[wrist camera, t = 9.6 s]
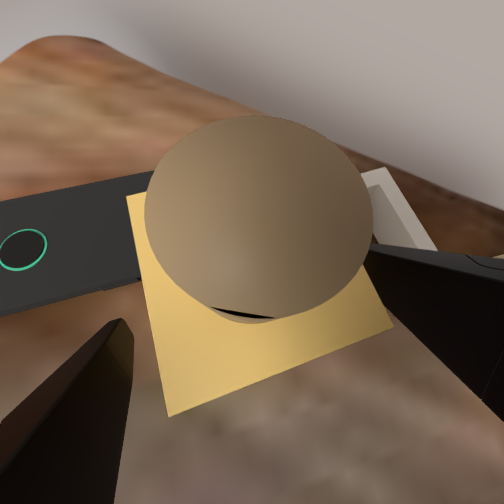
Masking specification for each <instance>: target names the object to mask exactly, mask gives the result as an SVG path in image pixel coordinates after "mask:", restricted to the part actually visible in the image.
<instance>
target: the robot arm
mask: <svg viewBox="0 0 504 504" xmlns="http://www.w3.org/2000/svg"><path fill="white" fill-rule="evenodd" d="M363 266H364V268H365V270H366V272H367V274H368V276H369V278H370V280H371V282H372V284H373V286H374V288H375V290H376V292H377V294H378V296H379V298H380V300H381V302H382V304H383V305H384V306H385V307H386V308H387V309H388V310H389V311H390V312H391V313H392V314H393V315H394V316H395V317H396V318H397V319H398V320H399V321H400V322H402V323H403V324H404V325H405V326H406V327H407V328H408V329H409V330H410V331H411V332H412V333H413V334H414V335H415V336H416V337H417V338H418V339H419V340H420V341H421V342H422V343H423V344H424V345H425V346H426V347H427V348H428V349H429V350H430V351H431V352H432V353H433V354H434V355H435V356H436V357H437V358H439V359H440V360H441V361H442V362H443V363H444V364H445V365H446V366H447V367H448V368H449V369H450V370H451V371H452V372H453V373H454V374H455V375H456V376H457V377H458V378H459V379H460V380H461V381H462V382H463V383H464V384H465V385H466V386H467V387H468V388H469V389H470V390H471V391H472V392H473V393H474V394H475V395H477V396H478V397H479V398H480V399H482V402H483V403H485V404H486V405H487V406H488V407H489V408H490V409H491V410H492V411H493V412H494V413H495V414H496V415H497V416H498V417H499V418H500V419H501V420H502V421H503V422H504V259H501V258H492V257H483V256H475V255H464V254H458V253H450V252H441V251H433V250H425V249H417V248H408V247H400V246H392V245H384V244H376V243H370V247H369V250H368V253H367V255H366V258H365V260H364V262H363ZM133 362H134V336H133V333H132V332H131V330H130V328H129V327H128V325H127V324H126V322H125V321H124V319H122V318H118V319H115V320H112V321H110V322H108V323H107V324H106V325H105V326H104V327H102V328H101V329H100V330H99V331H98V332H97V333H96V334H95V335H94V336H93V337H92V338H91V339H89V340H88V341H87V342H86V343H85V344H84V345H83V346H82V347H81V348H80V349H79V350H78V351H76V352H75V353H74V354H73V355H72V356H71V357H70V358H69V359H68V360H67V361H66V362H65V363H63V364H62V365H61V366H60V367H59V368H58V369H57V370H56V371H55V372H54V373H53V374H52V375H50V376H49V377H48V378H47V379H46V380H45V381H44V382H43V383H42V384H41V385H40V386H39V387H37V388H36V389H35V390H34V391H33V392H32V393H31V394H30V395H29V396H28V397H27V398H26V399H25V400H23V401H22V402H21V403H20V404H19V405H18V406H17V407H16V408H15V409H14V410H13V411H12V412H10V413H9V414H8V415H7V416H6V417H5V418H4V419H3V420H2V421H1V424H0V504H114V498H115V492H116V485H117V479H118V472H119V466H120V459H121V453H122V447H123V440H124V434H125V427H126V421H127V415H128V408H129V402H130V395H131V389H132V381H133Z"/></svg>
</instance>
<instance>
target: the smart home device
mask: <svg viewBox="0 0 504 504" xmlns="http://www.w3.org/2000/svg"><path fill="white" fill-rule="evenodd" d="M153 173H154V171H149V172H144V173H139V174H134V175H129V176H124V177H119V178H114V179H110V180H105V181H100V182H95V183H90V184H85V185H80V186H75V187H70V188H65V189H60V190H55V191H50V192H45V193H40V194H36V195H31V196H26V197H21V198H16V199H11V200H6V201H1V202H0V317H3V316H6V315H10V314H14V313H17V312H21V311H25V310H29V309H32V308H36V307H40V306H44V305H47V304H51V303H55V302H58V301H62V300H66V299H70V298H73V297H77V296H81V295H85V294H88V293H92V292H96V291H99V290H103V291H106V290H109V289H113V288H117V287H120V286H124V285H128V284H132V283H135V282H139V281H140V279H142V277H141V271H140V266H139V261H138V256H137V251H136V245H135V240H134V235H133V230H132V225H131V219H130V214H129V209H128V204H127V199H126V196H130V195H134V194H138V193H142V192H146V191H147V189H148V186H149V183H150V180H151V177H152V175H153Z"/></svg>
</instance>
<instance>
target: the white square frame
mask: <svg viewBox="0 0 504 504" xmlns="http://www.w3.org/2000/svg"><path fill="white" fill-rule="evenodd" d="M361 176H362V178H363V180H364V182H365V184H366V187H367V190H368V193H369V195H370V199H371V204H372V209H373V234H374V236H375V238H376V239H377V241H378V243H379V244H384V245H392V246H400V247H408V248H417V249H425V250H433V251H438V250H437V248H436V247H435V245H434V244H433V242H432V240H431V239H430V237H429V236H428V234H427V232H426V231H425V229H424V228H423V226H422V224H421V223H420V221H419V220H418V218H417V217H416V215H415V213H414V212H413V210H412V209H411V207H410V205H409V204H408V202H407V201H406V199H405V197H404V196H403V194H402V193H401V191H400V189H399V188H398V186H397V185H396V183H395V181H394V180H393V178H392V177H391V175H390V174H389V172H388V170H387V169H386V167H383V168H379V169H375V170H372V171H368V172H364V173H361Z"/></svg>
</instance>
